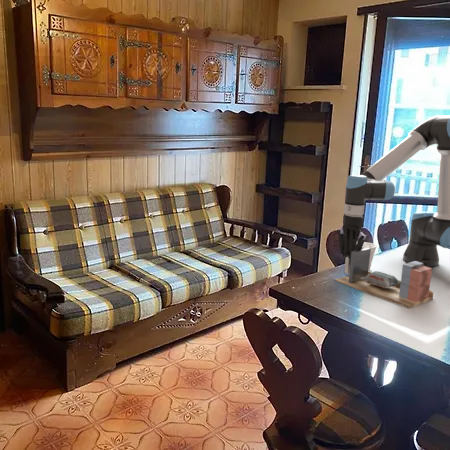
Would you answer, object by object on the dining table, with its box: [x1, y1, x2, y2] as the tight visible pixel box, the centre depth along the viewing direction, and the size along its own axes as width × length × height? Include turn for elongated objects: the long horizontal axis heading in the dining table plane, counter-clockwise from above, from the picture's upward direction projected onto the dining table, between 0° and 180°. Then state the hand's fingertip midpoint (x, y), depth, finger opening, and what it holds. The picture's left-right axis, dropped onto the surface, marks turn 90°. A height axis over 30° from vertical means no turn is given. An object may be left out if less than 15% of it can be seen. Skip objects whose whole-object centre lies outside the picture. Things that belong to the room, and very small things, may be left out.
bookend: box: [348, 248, 371, 282], centre depth 183 cm, size 10×2×12 cm, turn 128°
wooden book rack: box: [335, 261, 434, 309], centre depth 176 cm, size 15×32×13 cm, turn 38°
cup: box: [362, 241, 377, 270], centre depth 201 cm, size 10×10×11 cm
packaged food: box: [361, 270, 400, 288], centre depth 177 cm, size 9×12×5 cm
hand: (347, 272), depth 189 cm, fingers closed
